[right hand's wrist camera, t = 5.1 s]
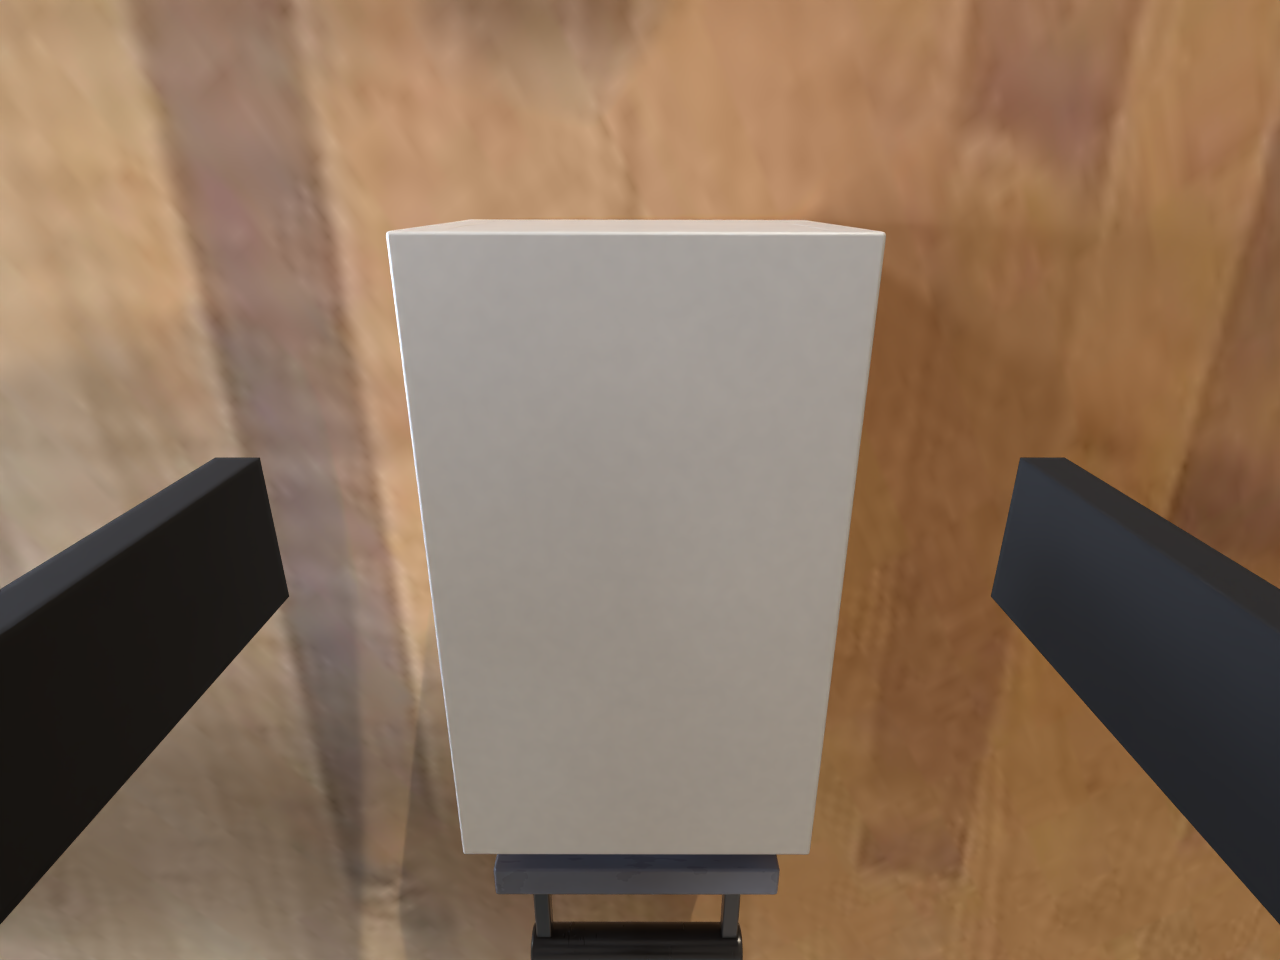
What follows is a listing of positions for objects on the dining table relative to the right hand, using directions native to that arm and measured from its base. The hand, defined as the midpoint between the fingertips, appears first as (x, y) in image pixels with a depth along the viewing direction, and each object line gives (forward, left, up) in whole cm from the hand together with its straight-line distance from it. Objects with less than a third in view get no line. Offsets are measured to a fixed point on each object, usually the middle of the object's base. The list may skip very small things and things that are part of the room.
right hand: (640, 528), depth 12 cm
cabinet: (+1, -4, -13) cm, 14 cm away
